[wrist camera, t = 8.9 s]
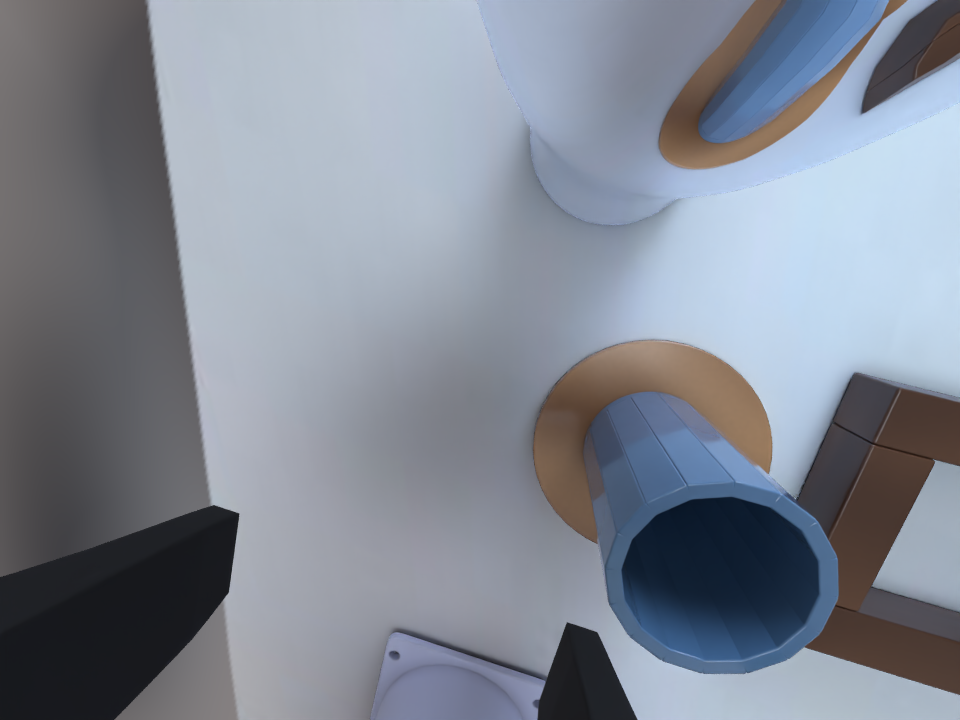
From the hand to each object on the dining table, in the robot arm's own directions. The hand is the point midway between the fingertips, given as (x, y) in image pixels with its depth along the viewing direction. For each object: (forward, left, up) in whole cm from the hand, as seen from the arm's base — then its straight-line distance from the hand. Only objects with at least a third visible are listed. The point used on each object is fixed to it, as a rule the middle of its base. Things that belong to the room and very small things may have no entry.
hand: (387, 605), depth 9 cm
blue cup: (+1, -7, -10) cm, 12 cm away
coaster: (+1, -7, -10) cm, 12 cm away
